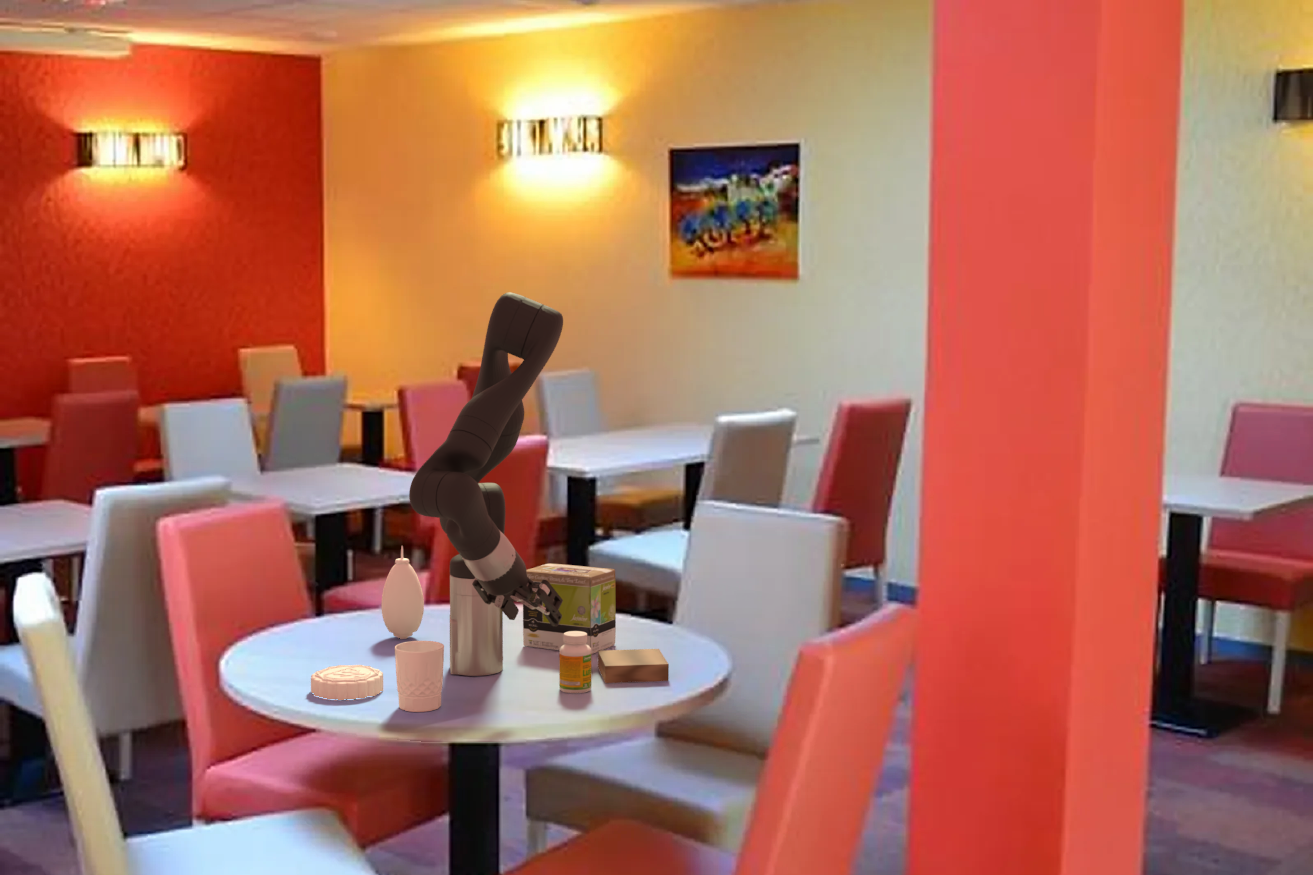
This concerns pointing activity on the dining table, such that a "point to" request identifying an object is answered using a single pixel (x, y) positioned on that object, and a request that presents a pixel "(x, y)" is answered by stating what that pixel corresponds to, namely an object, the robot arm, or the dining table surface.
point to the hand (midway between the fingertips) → (536, 618)
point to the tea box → (573, 607)
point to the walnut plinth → (633, 665)
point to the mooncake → (347, 682)
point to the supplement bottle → (575, 663)
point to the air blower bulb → (402, 599)
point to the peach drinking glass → (419, 675)
